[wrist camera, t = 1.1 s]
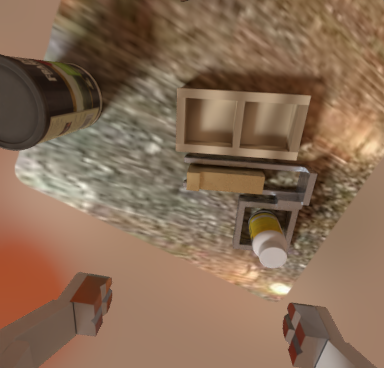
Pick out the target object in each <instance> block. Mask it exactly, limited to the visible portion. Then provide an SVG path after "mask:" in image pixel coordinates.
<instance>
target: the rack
mask: <svg viewBox="0 0 384 368" xmlns="http://www.w3.org/2000/svg"><path fill="white" fill-rule="evenodd" d="M310 98H311V96H310V95H303V94H287V93H269V92H252V91H234V90H216V89H199V88H177V121H176V151H180V152H193V153H206V154H219V155H232V156H245V157H258V158H271V159H284V160H296V159H297V155H298V150H299V146H300V142H301V137H302V133H303V129H304V124H305V120H306V116H307V111H308V107H309V103H310Z"/></svg>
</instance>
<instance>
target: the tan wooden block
mask: <svg viewBox="0 0 384 368" xmlns="http://www.w3.org/2000/svg"><path fill="white" fill-rule="evenodd" d="M264 181H265V176H264V174H263V172H262V169H261V168H249V167H237V166H224V165H212V164H199V163H190V166H189V169H188V172H187V189H186V190H193V191H199V189H205V190H216V191H228V192H239V193H250V194H261V195H262V191H263V186H264Z"/></svg>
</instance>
